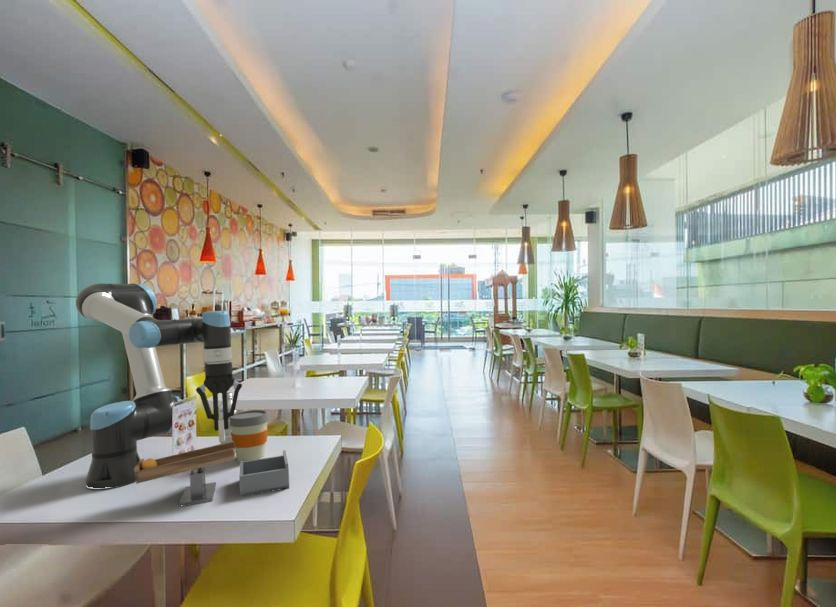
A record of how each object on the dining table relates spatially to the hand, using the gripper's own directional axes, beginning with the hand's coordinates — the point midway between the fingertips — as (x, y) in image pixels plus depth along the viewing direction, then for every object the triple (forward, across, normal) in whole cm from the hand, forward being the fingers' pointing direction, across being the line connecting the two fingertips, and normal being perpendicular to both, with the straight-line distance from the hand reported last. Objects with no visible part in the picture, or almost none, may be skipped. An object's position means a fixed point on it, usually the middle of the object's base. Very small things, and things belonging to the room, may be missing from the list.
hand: (222, 440), depth 136 cm
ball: (+2, -18, -8) cm, 20 cm away
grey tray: (+12, +11, -8) cm, 19 cm away
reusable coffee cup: (+12, +7, +20) cm, 25 cm away
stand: (+12, -6, -8) cm, 16 cm away
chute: (+5, -8, -4) cm, 10 cm away
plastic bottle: (+12, 0, +38) cm, 40 cm away
